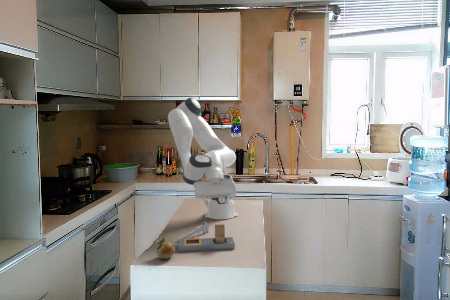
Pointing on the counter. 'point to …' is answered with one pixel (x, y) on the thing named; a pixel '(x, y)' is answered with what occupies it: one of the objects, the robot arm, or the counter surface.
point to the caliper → (196, 231)
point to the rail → (205, 244)
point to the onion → (165, 249)
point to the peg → (219, 233)
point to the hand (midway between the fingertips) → (216, 204)
